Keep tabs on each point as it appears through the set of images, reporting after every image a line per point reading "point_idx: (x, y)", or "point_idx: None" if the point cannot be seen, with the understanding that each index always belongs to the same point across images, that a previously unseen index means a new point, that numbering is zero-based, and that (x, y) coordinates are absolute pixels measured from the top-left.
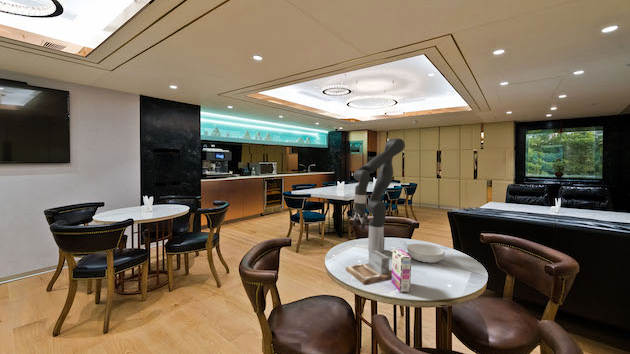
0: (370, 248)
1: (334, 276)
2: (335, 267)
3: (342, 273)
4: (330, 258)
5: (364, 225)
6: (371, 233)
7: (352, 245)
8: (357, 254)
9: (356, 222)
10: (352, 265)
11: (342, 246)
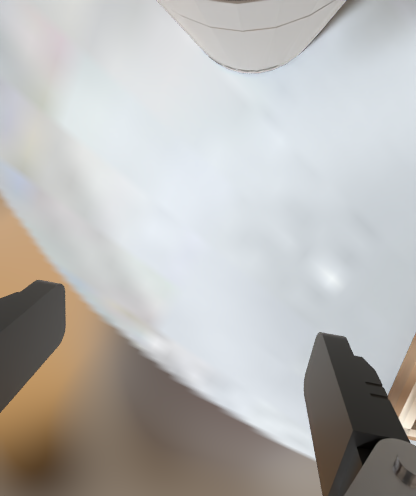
0: (255, 69)
1: None
2: None
3: None
4: (191, 385)
5: (392, 425)
6: (268, 38)
7: (23, 89)
8: (222, 202)
9: (20, 336)
10: (408, 412)
11: (22, 188)
